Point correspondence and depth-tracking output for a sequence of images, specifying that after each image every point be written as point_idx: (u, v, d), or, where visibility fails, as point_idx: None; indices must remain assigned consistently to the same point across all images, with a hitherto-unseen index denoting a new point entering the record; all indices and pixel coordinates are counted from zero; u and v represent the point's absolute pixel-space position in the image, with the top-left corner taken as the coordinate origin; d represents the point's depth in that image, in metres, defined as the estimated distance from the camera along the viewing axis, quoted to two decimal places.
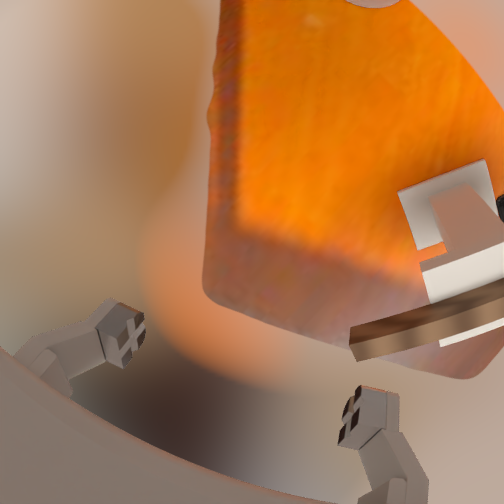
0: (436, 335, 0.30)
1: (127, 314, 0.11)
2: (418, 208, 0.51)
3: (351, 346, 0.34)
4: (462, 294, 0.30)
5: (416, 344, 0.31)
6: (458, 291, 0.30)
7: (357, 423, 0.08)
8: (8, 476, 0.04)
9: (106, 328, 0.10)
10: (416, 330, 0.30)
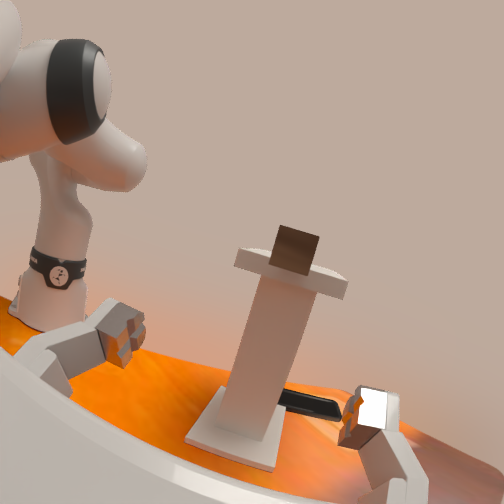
0: None
1: (127, 314, 0.11)
2: (220, 438, 0.37)
3: (284, 226, 0.24)
4: None
5: None
6: None
7: (357, 423, 0.08)
8: (8, 476, 0.04)
9: (106, 328, 0.10)
10: None
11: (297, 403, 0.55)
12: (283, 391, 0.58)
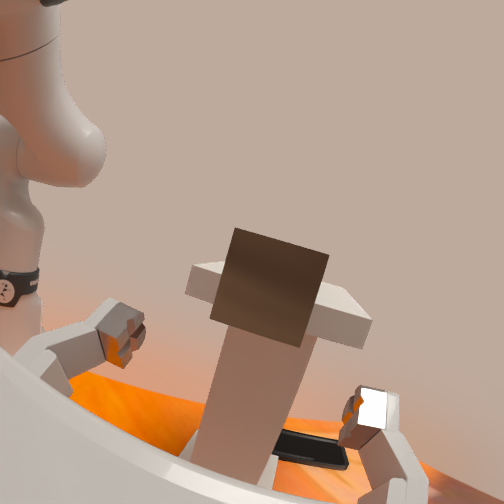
0: None
1: (127, 314, 0.11)
2: None
3: (245, 230, 0.10)
4: None
5: None
6: None
7: (357, 423, 0.08)
8: (7, 476, 0.04)
9: (106, 328, 0.10)
10: None
11: (293, 448, 0.41)
12: None
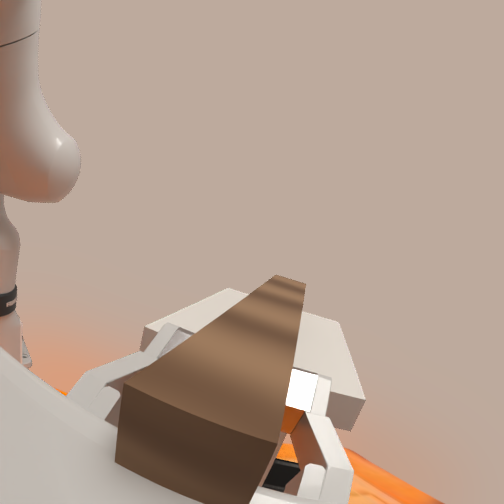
0: (283, 316, 0.15)
1: None
2: None
3: (142, 385, 0.05)
4: None
5: (287, 332, 0.12)
6: None
7: None
8: (8, 476, 0.04)
9: None
10: (238, 313, 0.13)
11: (283, 480, 0.37)
12: None
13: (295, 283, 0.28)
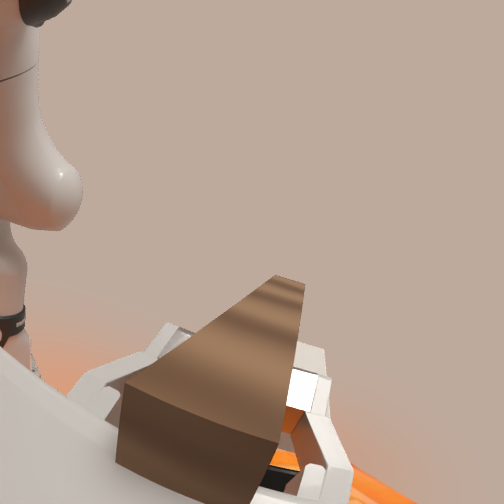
0: (283, 316, 0.15)
1: None
2: None
3: (143, 385, 0.05)
4: None
5: (287, 332, 0.12)
6: None
7: None
8: (8, 476, 0.04)
9: None
10: (238, 313, 0.13)
11: (275, 485, 0.39)
12: None
13: (294, 283, 0.28)
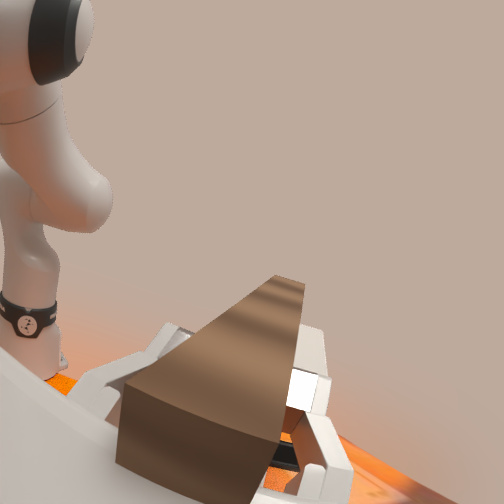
0: (283, 316, 0.15)
1: None
2: None
3: (143, 385, 0.05)
4: None
5: (287, 332, 0.12)
6: None
7: None
8: (8, 476, 0.04)
9: None
10: (238, 313, 0.13)
11: (282, 456, 0.48)
12: None
13: (294, 283, 0.28)
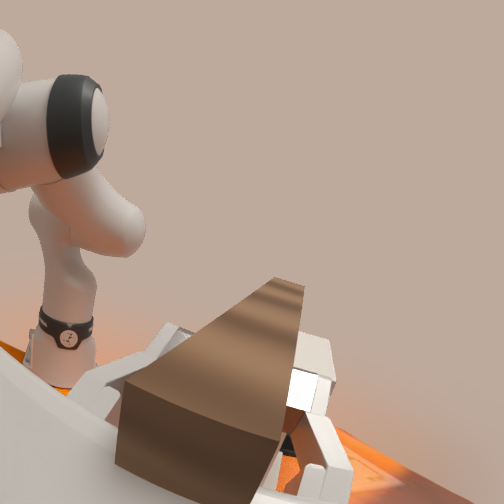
0: (283, 317, 0.15)
1: None
2: None
3: (144, 383, 0.05)
4: None
5: (287, 333, 0.12)
6: None
7: None
8: (7, 476, 0.04)
9: None
10: (237, 314, 0.13)
11: None
12: None
13: (294, 285, 0.28)
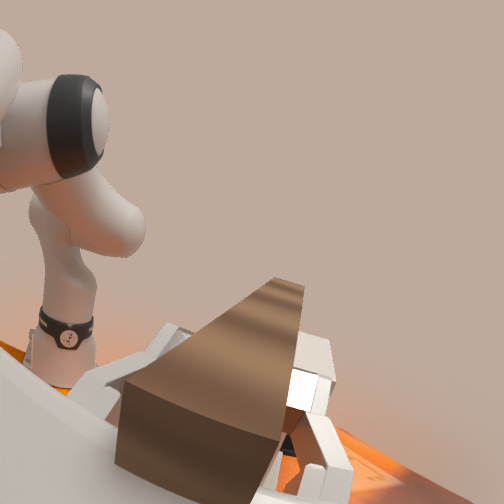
0: (283, 317, 0.15)
1: None
2: None
3: (144, 383, 0.05)
4: None
5: (287, 333, 0.12)
6: None
7: None
8: (8, 476, 0.04)
9: None
10: (238, 314, 0.13)
11: None
12: None
13: (294, 285, 0.28)
